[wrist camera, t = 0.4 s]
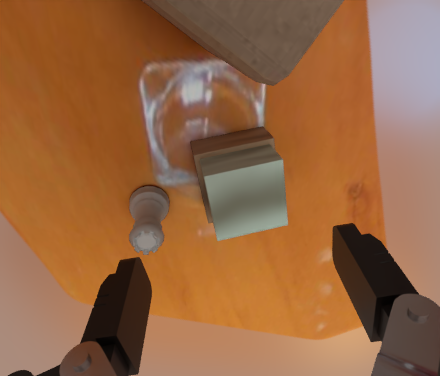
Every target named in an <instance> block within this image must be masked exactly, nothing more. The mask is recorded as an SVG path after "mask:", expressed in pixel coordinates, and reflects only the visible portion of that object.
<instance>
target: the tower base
mask: <svg viewBox="0 0 440 376" xmlns="http://www.w3.org/2000/svg"><path fill="white" fill-rule="evenodd" d="M191 147H192V152H193V156H194V161H195V165H196V170H197V174H198V179H199V183H200V188H201V192H202V197H203V201H204V206H205V210H206V215H207V219H208V223H212V222H213V224H214V228H215V232H216V236H217V240H218V241H220V240H224V239H229V238H233V237H237V236H242V235H246V234H250V233H255V232H259V231H263V230H268V229H272V228H276V227H281V226H285V225H288V219H287V206H286V193H285V180H284V167H283V159H282V158H281V157H280V155H279V154H278V153H277V152H276V151H275V143H274V138H273V136H272V135H271V134H270V133H269V132H268V131H267V130H266V129H265V128H264V127H258V128H253V129H248V130H244V131H239V132H234V133H229V134H225V135H220V136H215V137H211V138H206V139H201V140H196V141H192V142H191Z"/></svg>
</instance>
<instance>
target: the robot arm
mask: <svg viewBox="0 0 440 376" xmlns="http://www.w3.org/2000/svg"><path fill="white" fill-rule="evenodd" d="M332 255H333V261H334V265H335V268H336V270H337V272H338V274H339V276H340V278H341V281H342V283H343V285H344V287H345V289H346V291H347V293H348V295H349V297H350V299H351V301H352V303H353V305H354V308H355V310H356V312H357V314H358V316H359V318H360V320H361V322H362V324H363V326H364V328H365V330H366V333H367V335H368V337H369V339H370V341H371V342H375V341H382V345H381V349H380V352H379V353H378V354H377V357H376V361H375V364H374V368H373V371H372V374H371V376H440V307H439V306H438V305H437V304H436V303H435V302H434V301H432V300H430V299H429V298H427V297H424V296H422V295H419V293H418V292H417V291H416V290H415V288H414V287H413V286H412V284H411V283H410V281H409V280H408V278H407V277H406V276H405V274H404V273H403V272H402V270H401V269H400V267H399V266H398V265H397V263H396V262H394V259H393V258H392V256H391V255H390V253H388V250H387V249H386V248H385V246H384V245H383V244H382V242H381V241H380V240H378V239H377V238H375V237H374V236H372V235H371V234H364V235H361V233H360V232H359V230H358V229H357V227H356V226H355V224H353V223H350V224H343V225H337V226H334V227H333V247H332ZM151 297H152V288H151V283H150V280H149V278H148V275H147V273H146V271H145V268H144V266H143V263H142V261H141V259H140V258H139V257H136V258H130V259H124V260H120V262H119V264H118V267H117V270H116V274H110V275H109V276H108V277H107V278H106V279H105V281H104V282H103V283H102V284H101V286H100V289H99V292H98V295H97V298H96V300H95V303H94V308H93V309H92V312H91V315H90V318H89V321H88V323H87V326H86V329H85V332H84V334H83V337H82V340H81V342H80V344H79V345H77V346H76V347H74V348H73V349H72V350H70V351H69V352H68V354H67V355H66V356H65V357H64V359H63V361H62V362H61V364H60V365H58V366H56V367H54V368H52V369H50V370H48V371H46V372H43V373H41V374H39V375H37V376H129V375H136V374H138V373H139V367H140V361H141V355H142V348H143V343H144V338H145V332H146V326H147V320H148V315H149V309H150V303H151ZM8 376H33V375H32V373H31V372H29V371H27V370H20V371H16V372H14V373H12V374H10V375H8Z"/></svg>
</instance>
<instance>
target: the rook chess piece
mask: <svg viewBox="0 0 440 376" xmlns="http://www.w3.org/2000/svg"><path fill="white" fill-rule="evenodd" d="M129 210H130V213H131V215H132V217H133V218H134V219H135V220H136V222H135V224H134V225H133V229H132V231H131V232H130V234H129V241H130V243H131V245H132V246H133V247H135V251H137V252H138V253H139V251H140V250H141V251H143V255H149V251H152V252H153V253H154V252H156V251H157V250H158V248H159V247H160V246H161V245H162V243H163V241H164V234H163V231H162V226H161V224H160V223H161V221H162V220H163V219H164V218H165V217H166V215H167V213H168V210H169V199H168V196H167V194H166V193H165V192H164V191H163V190H161V189H159V188H157V187H154V186H145V187H142V188H139V189H137V190H136V191H135V192H134V193H133V194H132V196H131V198H130V204H129Z"/></svg>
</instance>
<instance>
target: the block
mask: <svg viewBox="0 0 440 376" xmlns="http://www.w3.org/2000/svg"><path fill="white" fill-rule="evenodd" d="M142 1H143V2H144V3H146V4H147V5H148V6H150V7H151V8H152V9H154V10H155V11H156V12H158V13H159V14H160V15H162V16H163V17H164V18H165V19H167V20H168V21H169V22H171V23H172V24H173V25H175V26H176V27H177V28H179V29H180V30H181V31H183V32H184V33H185V34H186V35H188V36H189V37H190V38H192V39H193V40H194V41H196V42H197V43H198V44H200V45H201V46H202V47H204V48H205V49H206V50H208V51H209V52H211V53H212V54H214V55H215V56H217V57H218V58H220V59H222V60H223V61H225V62H226V63H228V64H229V65H231V66H232V67H234V68H236V69H237V70H239V71H240V72H242V73H243V74H245V75H246V76H248V77H249V78H251V79H253V80H254V81H256V82H259V83H263V84H268V85H272V86H274V85H275V84H277V83H278V82H280V81H281V80H283V79H284V78H286V77H287V76H289V74H290V73H291V72H292V70H293V69H294V67H295V66H296V65H297V63H298V62H299V61H300V59H301V58H302V57H303V55H304V54H305V53H306V51H307V50H308V48H309V47H310V46H311V44H312V43H313V42H314V40H315V39H316V38H317V36H318V35H319V34H320V32H321V31H322V30H323V28H324V27H325V25H326V24H327V23H328V21H329V20H330V19H331V17H332V16H333V15H334V13H335V12H336V11H337V9H338V8H339V6H340V5H341V4H342V2H343V1H344V0H142Z"/></svg>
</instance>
